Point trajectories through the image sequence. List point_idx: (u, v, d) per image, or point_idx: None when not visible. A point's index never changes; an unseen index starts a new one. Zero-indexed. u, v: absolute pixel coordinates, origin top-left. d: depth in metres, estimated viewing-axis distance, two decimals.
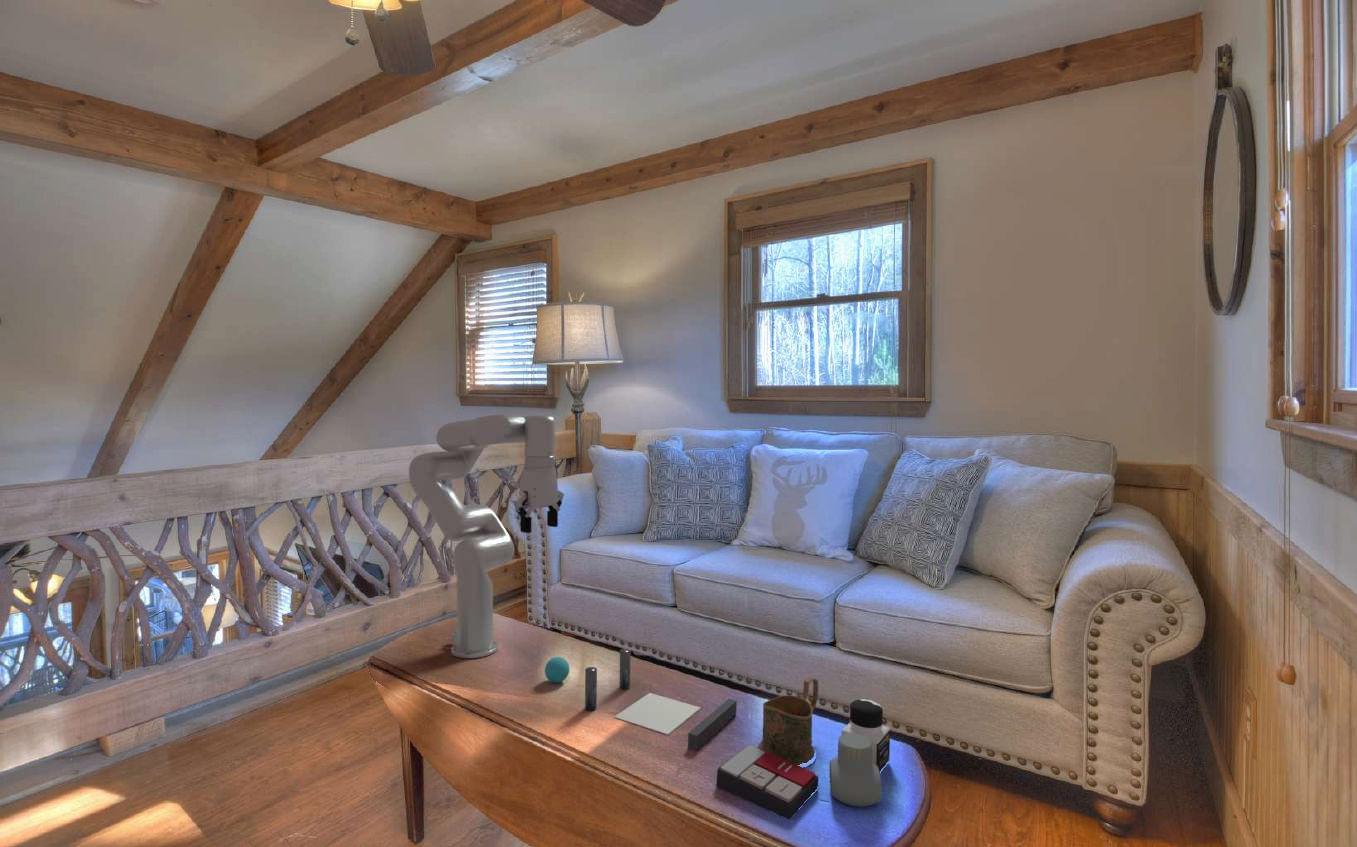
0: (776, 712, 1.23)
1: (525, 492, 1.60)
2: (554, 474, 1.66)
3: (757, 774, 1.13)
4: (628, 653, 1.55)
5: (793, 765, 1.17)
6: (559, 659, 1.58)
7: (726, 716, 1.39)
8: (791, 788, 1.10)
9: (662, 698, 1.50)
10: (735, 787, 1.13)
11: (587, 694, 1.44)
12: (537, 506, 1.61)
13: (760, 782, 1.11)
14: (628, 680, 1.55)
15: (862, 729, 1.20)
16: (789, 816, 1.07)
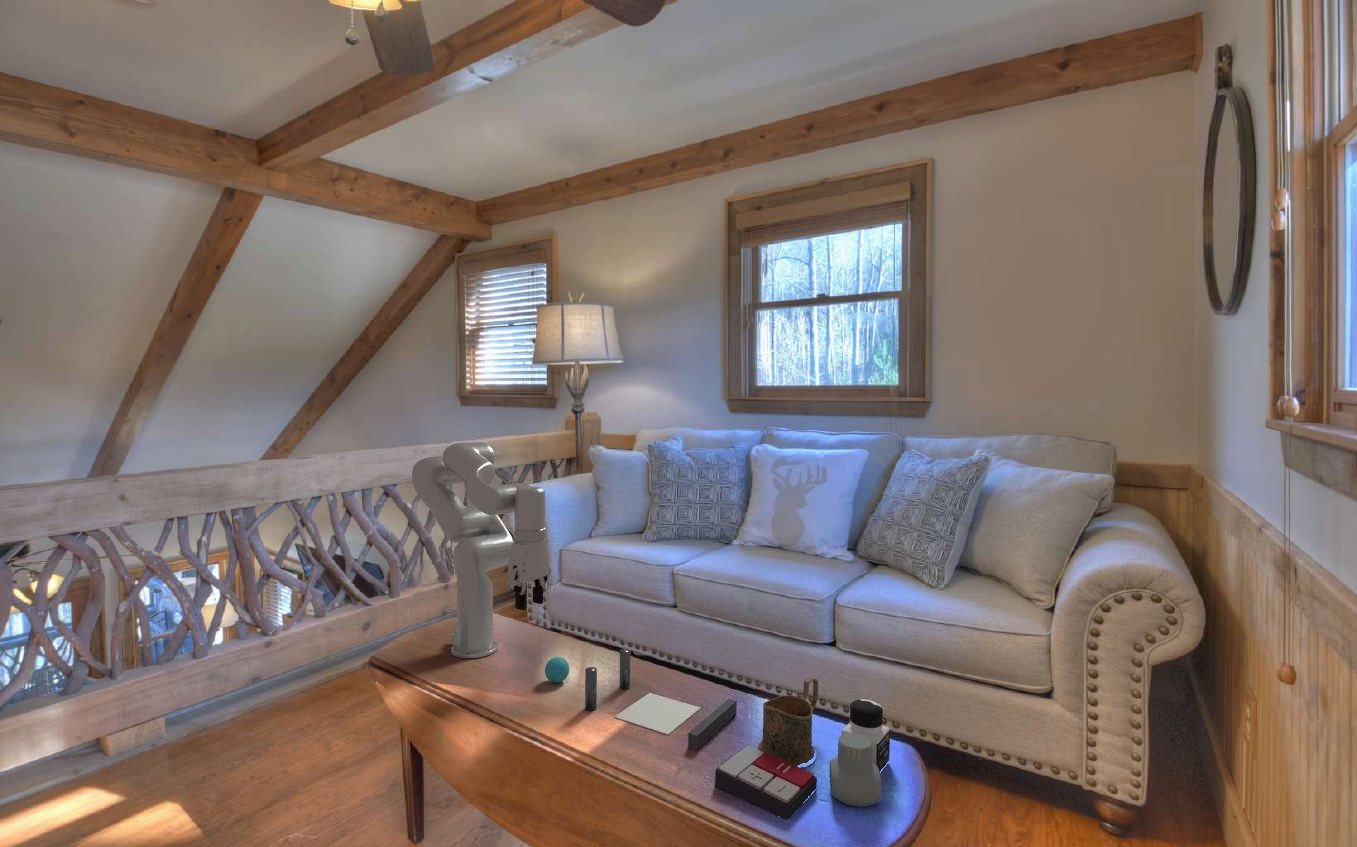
0: (776, 712, 1.23)
1: (515, 569, 1.59)
2: (544, 546, 1.64)
3: (755, 774, 1.13)
4: (628, 653, 1.55)
5: (791, 766, 1.17)
6: (559, 659, 1.58)
7: (726, 716, 1.39)
8: (789, 789, 1.10)
9: (662, 698, 1.50)
10: (733, 788, 1.13)
11: (587, 694, 1.44)
12: (527, 580, 1.59)
13: (758, 782, 1.11)
14: (628, 680, 1.55)
15: (862, 729, 1.20)
16: (787, 817, 1.06)
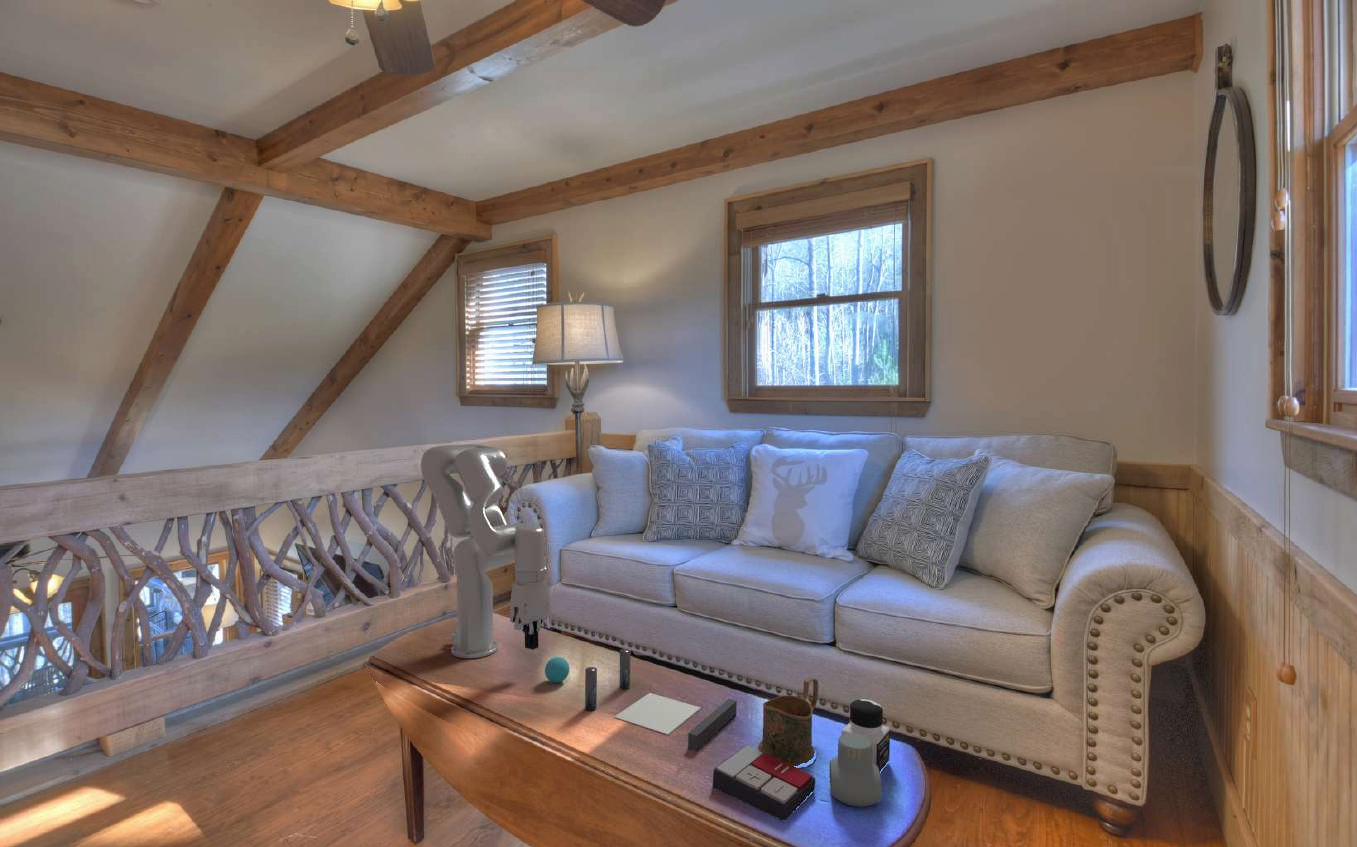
0: (776, 712, 1.23)
1: (518, 612, 1.59)
2: (545, 586, 1.64)
3: (753, 775, 1.13)
4: (628, 653, 1.55)
5: (790, 766, 1.16)
6: (559, 659, 1.58)
7: (726, 716, 1.39)
8: (787, 789, 1.10)
9: (662, 698, 1.50)
10: (731, 788, 1.13)
11: (587, 694, 1.44)
12: (528, 621, 1.59)
13: (756, 783, 1.11)
14: (628, 680, 1.55)
15: (862, 729, 1.20)
16: (784, 818, 1.06)
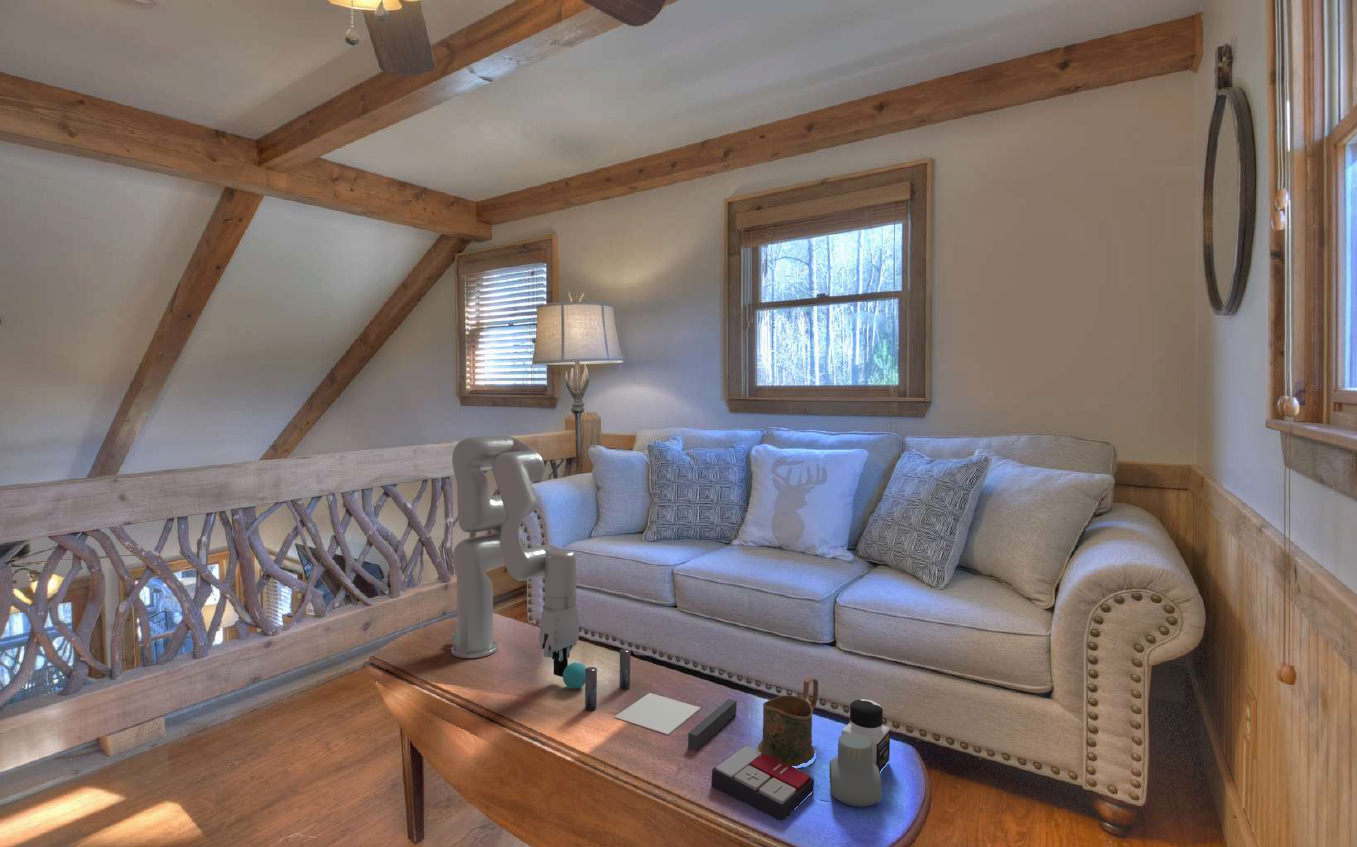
0: (776, 712, 1.23)
1: (548, 639, 1.54)
2: (575, 611, 1.59)
3: (751, 775, 1.13)
4: (628, 653, 1.55)
5: (789, 767, 1.16)
6: (583, 683, 1.54)
7: (726, 716, 1.39)
8: (785, 790, 1.10)
9: (662, 698, 1.50)
10: (730, 788, 1.13)
11: (587, 694, 1.44)
12: (558, 649, 1.54)
13: (754, 783, 1.11)
14: (628, 680, 1.55)
15: (862, 729, 1.20)
16: (782, 818, 1.06)
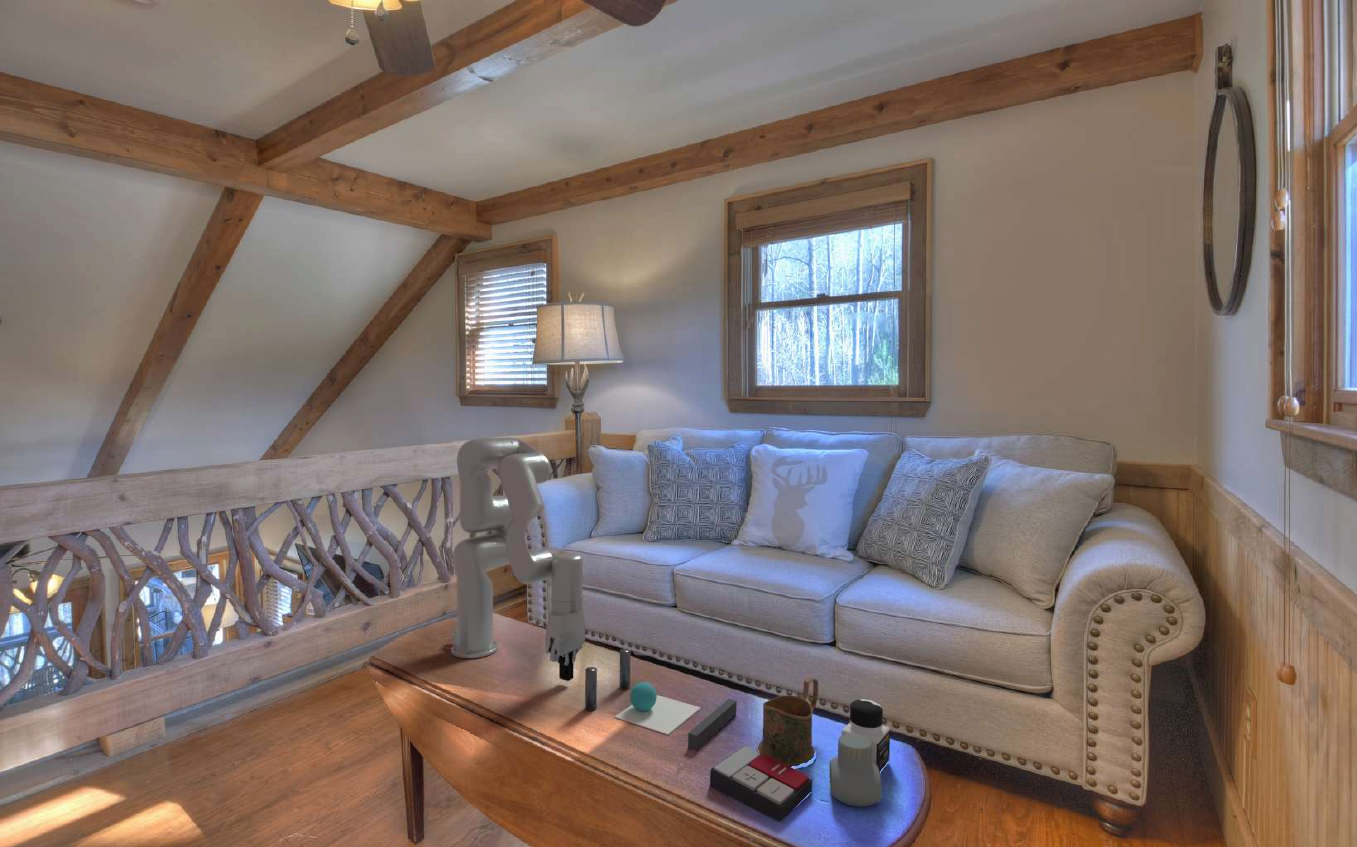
0: (776, 712, 1.23)
1: (554, 643, 1.53)
2: (582, 615, 1.58)
3: (750, 775, 1.13)
4: (628, 653, 1.55)
5: (787, 767, 1.16)
6: None
7: (726, 716, 1.39)
8: (783, 790, 1.09)
9: (662, 698, 1.50)
10: (728, 788, 1.13)
11: (587, 694, 1.44)
12: (564, 653, 1.53)
13: (752, 783, 1.11)
14: (628, 680, 1.55)
15: (862, 729, 1.20)
16: (780, 819, 1.06)
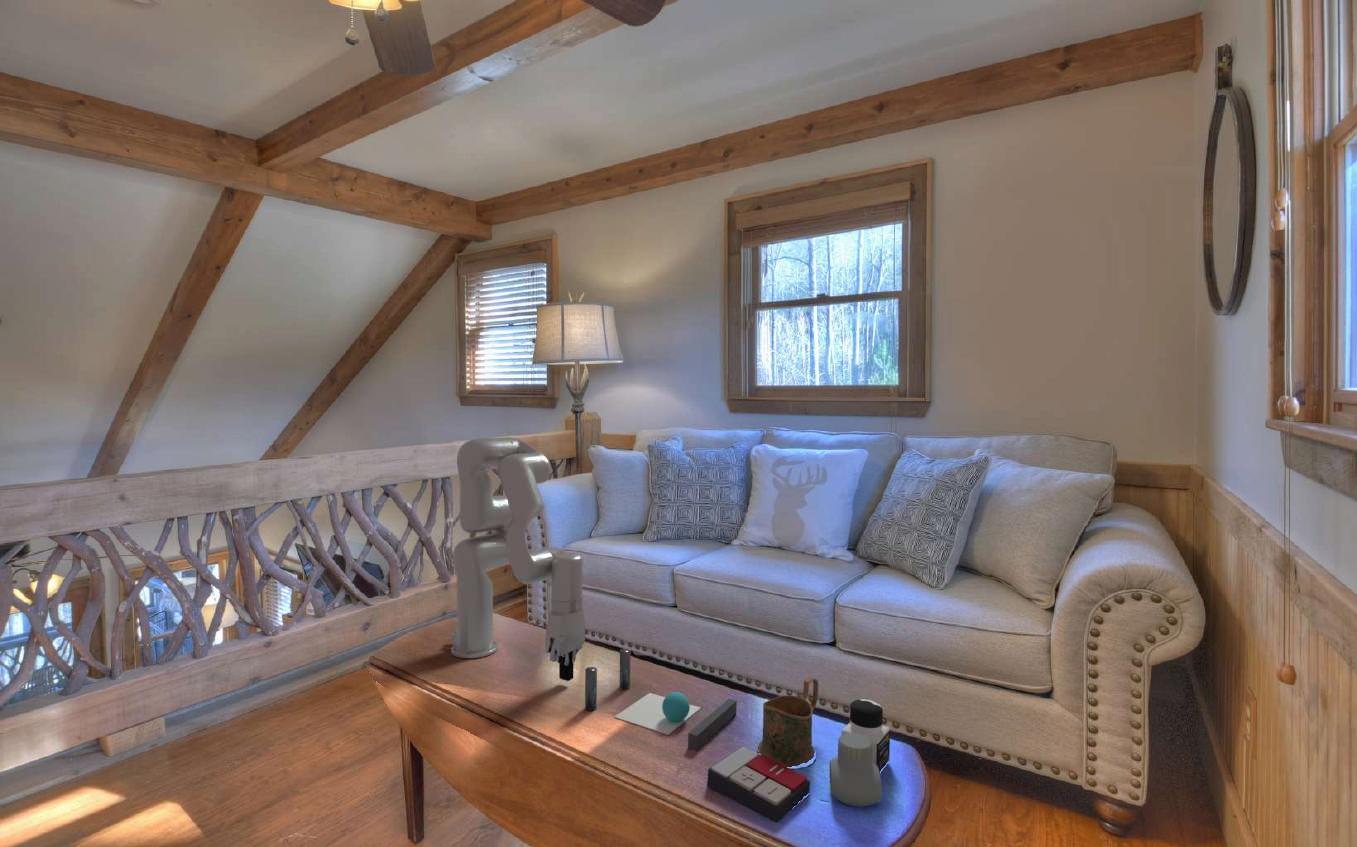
0: (776, 712, 1.23)
1: (554, 643, 1.53)
2: (582, 615, 1.58)
3: (747, 776, 1.13)
4: (628, 653, 1.55)
5: (785, 768, 1.16)
6: (667, 695, 1.41)
7: (726, 716, 1.39)
8: (780, 791, 1.09)
9: (662, 698, 1.50)
10: (725, 788, 1.13)
11: (587, 694, 1.44)
12: (564, 653, 1.53)
13: (749, 784, 1.11)
14: (628, 680, 1.55)
15: (862, 729, 1.20)
16: (776, 819, 1.06)
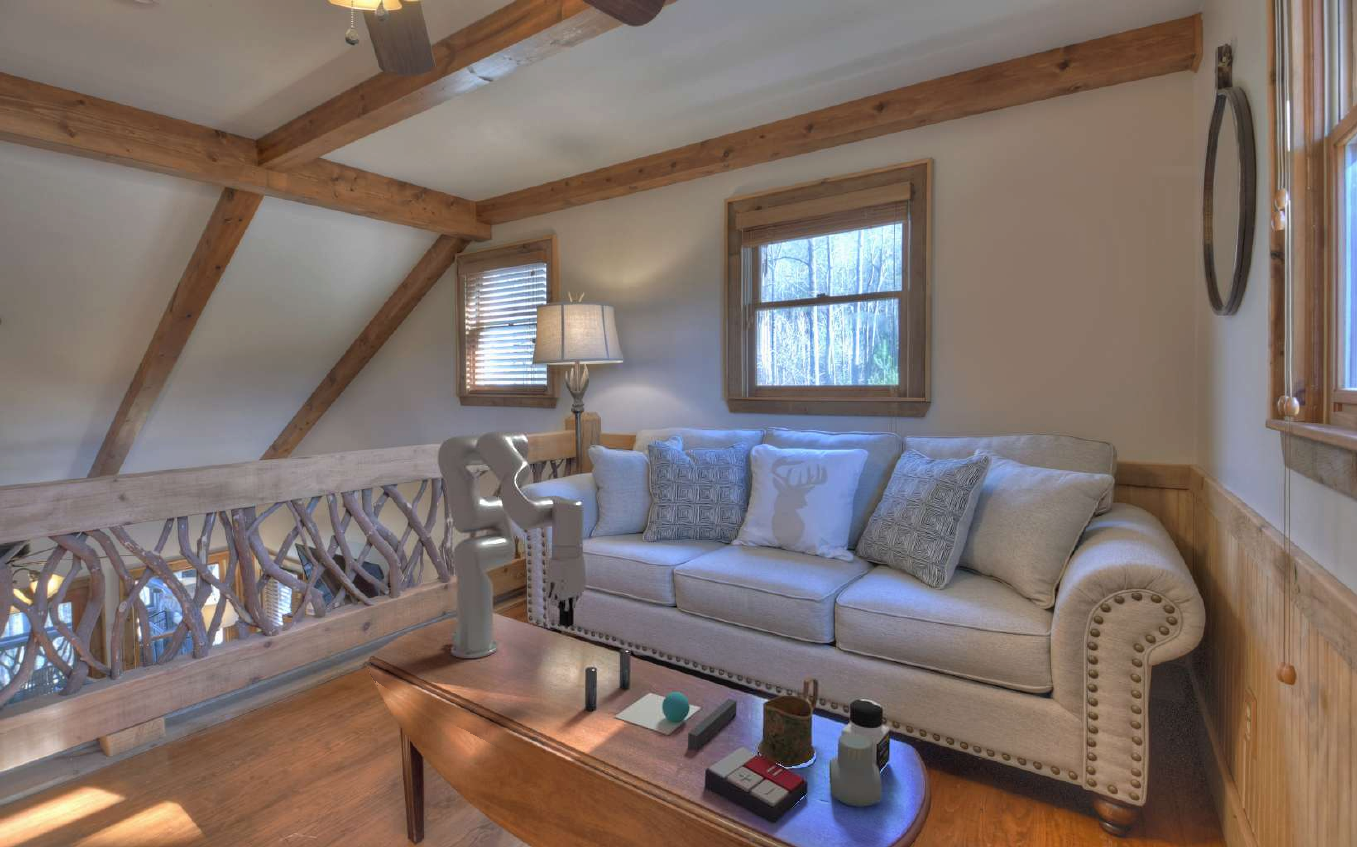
0: (776, 712, 1.23)
1: (554, 588, 1.53)
2: (582, 561, 1.58)
3: (744, 776, 1.13)
4: (628, 653, 1.55)
5: (783, 769, 1.16)
6: (667, 695, 1.41)
7: (726, 716, 1.39)
8: (777, 792, 1.09)
9: (662, 698, 1.50)
10: (722, 789, 1.12)
11: (587, 694, 1.44)
12: (565, 598, 1.53)
13: (746, 784, 1.11)
14: (628, 680, 1.55)
15: (862, 729, 1.20)
16: (773, 820, 1.06)
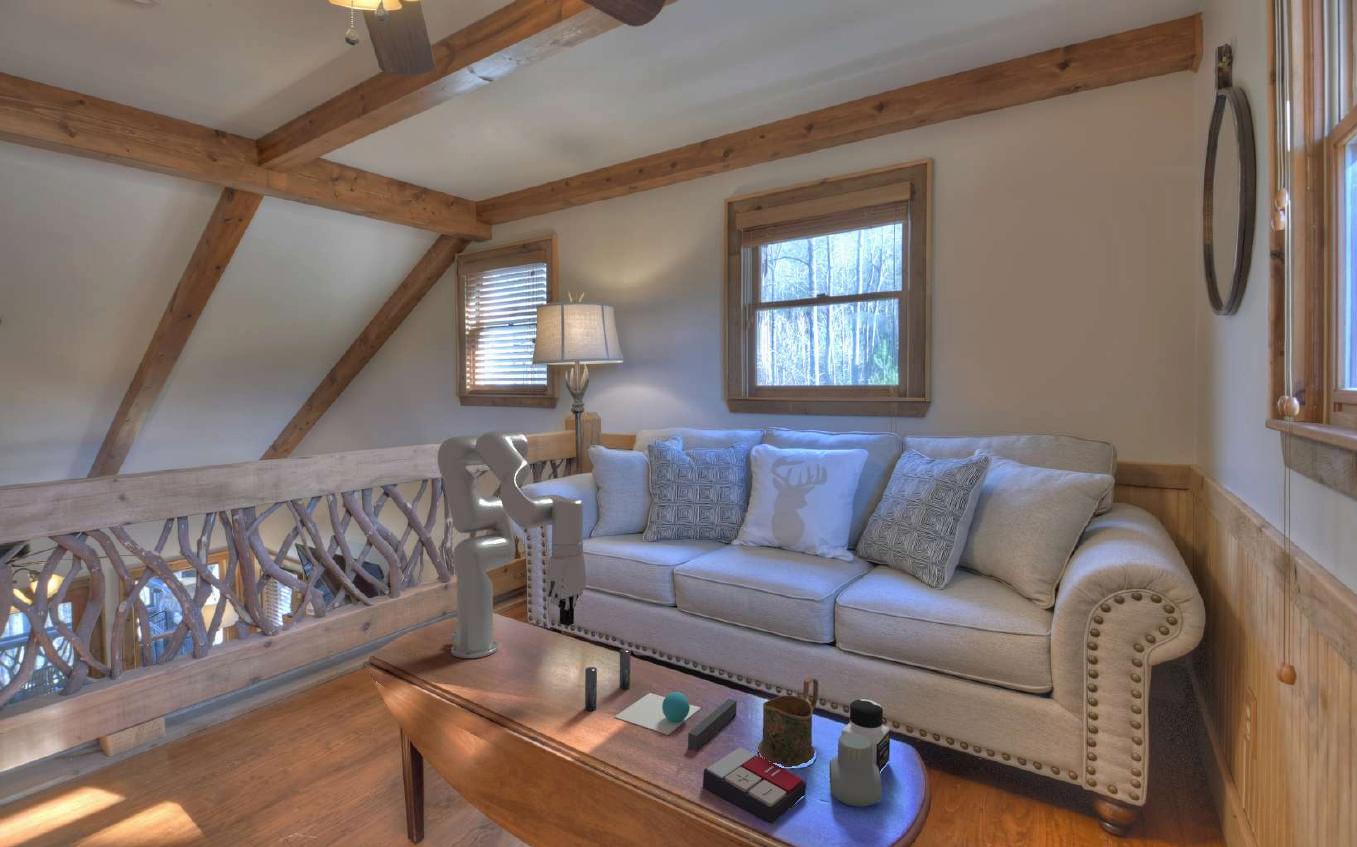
0: (776, 712, 1.23)
1: (554, 587, 1.53)
2: (582, 560, 1.58)
3: (742, 777, 1.12)
4: (628, 653, 1.55)
5: (781, 769, 1.15)
6: (667, 695, 1.41)
7: (726, 716, 1.39)
8: (775, 792, 1.09)
9: (662, 698, 1.50)
10: (720, 789, 1.12)
11: (587, 694, 1.44)
12: (565, 596, 1.53)
13: (744, 785, 1.10)
14: (628, 680, 1.55)
15: (862, 729, 1.20)
16: (771, 821, 1.05)
